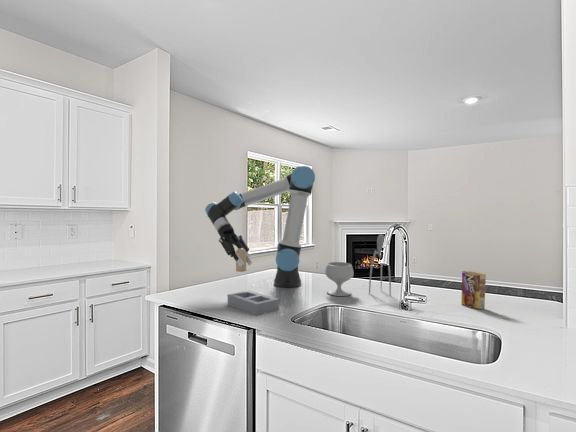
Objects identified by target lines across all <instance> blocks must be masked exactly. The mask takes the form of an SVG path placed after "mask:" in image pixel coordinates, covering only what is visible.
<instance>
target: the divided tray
mask: <svg viewBox="0 0 576 432" xmlns="http://www.w3.org/2000/svg"><path fill="white" fill-rule="evenodd" d="M227 306H229V307H233V308H234V307H235V308H234V309H237V308H238V310H240V309H241V310H240V311H243V312H245V311H246V312H245V313H249V314H250V315H251V314H252V315H254V316H259V315H264V314H267V313H271V312H274V311H275V312H276V311H279V309H280V299H279V298H277V297H274V296H273V297H272V296H270V295H267V294H263V293H259V292H256V291H253V290H246V291H241V292H235V293H230V294H229V293H228V294H227Z"/></svg>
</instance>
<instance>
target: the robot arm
mask: <svg viewBox="0 0 576 432" xmlns="http://www.w3.org/2000/svg"><path fill="white" fill-rule="evenodd" d="M315 180H316V175H315V172H314V170H313V169H312V168H311V167H309V166H307V165H298V166H296V167H295V168H294V169H293V170H292V172H291V173H289V174H287V175H285V176H284V178H281V179H279V180H276V181H272V182H270V183H267V184H265V185H261V186H259V187H255V188H254V189H251V190H247V191H245V192H242V193H238V192H237V191H232V192H231V193H230V194H228V195H227V196H226V197H225V198H223V199H222V200H221V201H220V202H214V201H213V202H211V203H208V204H207V205H206V207H205V210H204V211H205V214H206V215H207V216H206V217H208V219H209V220H210V222H211V223H212V226H213V227H214V228H215V231H216V232H217V234H218V235H219V236H220V237H219V239H218V242H219V243H220V244H221V246H222V247H223V249H224V251H225V252H226V254H227V256H230V258H233V259H234V262H236V261H237V263H238V265H239V266H240V267H241V266H242V265H243V264H244V263H243V261H242V259H241V258H240V256H239V254H238V253H236V249H235V247H236V248H237V249H239V248H243V249H245V250H246V264H247V265H248V266H251V265H252V264H253V263H254V261H253V260H252V258H251V255H250V254H249V251H250V248H249V246H248V245H247V244H246V242H245V240H244V238H243V236H242V235H237V234H236V233H235V229H234V227H233V226H232V224H231V222H230V221H229V219H228V218H227V216H228V215H229V214H230V213H232V212H233V211H238V210H240V209H242V208H245V207H247V206H250V205H254V204H256V203H257V204H258V203H260V202H262V201H264V200H268V199H271V198H273V197H277V196H279V195H282V194H284V193H287V192H289V193H290V198H289V203H288V204H289V205H288V209H287V216H286V220H285V226H284V231H283V237H282V240H281V241H279V242H278V243H277V248H276V250H277V252H276V256H275V263H276V265H277V266H276V267H277V269H276V274H275V277H274V279H273V285H274V286H276V287H279V288H296V287H301V285H302V279H301V276H300V273H299V264H300V255H301V252H302V251H301V250H302V245H301V243H300V240H301V235H302V228H303V223H304V220H305V219H304V218H305V213H306V209H307V203H308V197H310V196H311V195H312V192H313V187H314V182H315ZM234 246H235V247H234Z"/></svg>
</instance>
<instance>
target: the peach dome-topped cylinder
mask: <svg viewBox="0 0 576 432" xmlns="http://www.w3.org/2000/svg"><path fill="white" fill-rule="evenodd" d="M235 252H236V253H238V254H239V256H240V258H241V259H242V261H243V263H244V264H243V265H242V266H241V267H240V266H239V265H238V263H237V261H235V272H238V273H243V272H244V273H245V272H247V262H246V250H245V249H243V248H239V249H238V248H237V249H236V250H235Z"/></svg>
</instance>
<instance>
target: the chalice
mask: <svg viewBox="0 0 576 432" xmlns="http://www.w3.org/2000/svg"><path fill="white" fill-rule="evenodd" d="M324 271H325V276H326V277H327V278H328V279H329V280H331V281H332V282H334V283H335V284H336V286H337V288H336V289H331V290H328V291H326V293H327V295H330V296H334V297H346V296H351V295H352V292H351V291H349V290H344V289H342V286H343V284H344V283H345V282H348V281H349V280H351V279H352V278H353V277H354V274H355V273H354V268H353V265H352V264H351V263H349V262H345V261H344V262H342V261H335V262H334V261H332V262H328V263H327V264H326V268H325V270H324Z"/></svg>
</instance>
